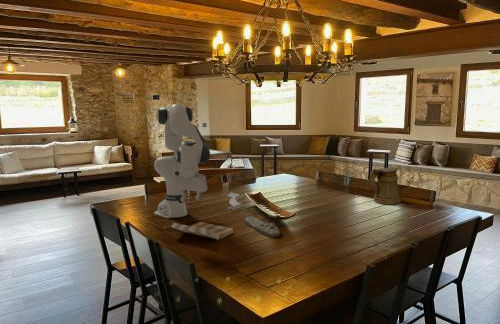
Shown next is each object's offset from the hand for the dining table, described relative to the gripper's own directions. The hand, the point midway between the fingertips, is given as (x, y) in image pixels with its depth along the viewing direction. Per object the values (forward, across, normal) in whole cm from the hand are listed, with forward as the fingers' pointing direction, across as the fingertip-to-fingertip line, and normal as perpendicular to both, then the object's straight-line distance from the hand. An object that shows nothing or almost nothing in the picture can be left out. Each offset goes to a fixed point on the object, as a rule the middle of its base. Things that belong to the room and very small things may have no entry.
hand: (190, 198), depth 203 cm
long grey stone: (+24, -22, -36) cm, 49 cm away
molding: (+24, +26, -77) cm, 84 cm away
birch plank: (+20, 0, -3) cm, 20 cm away
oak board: (+23, 0, -16) cm, 28 cm away
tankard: (+23, -70, -132) cm, 151 cm away
